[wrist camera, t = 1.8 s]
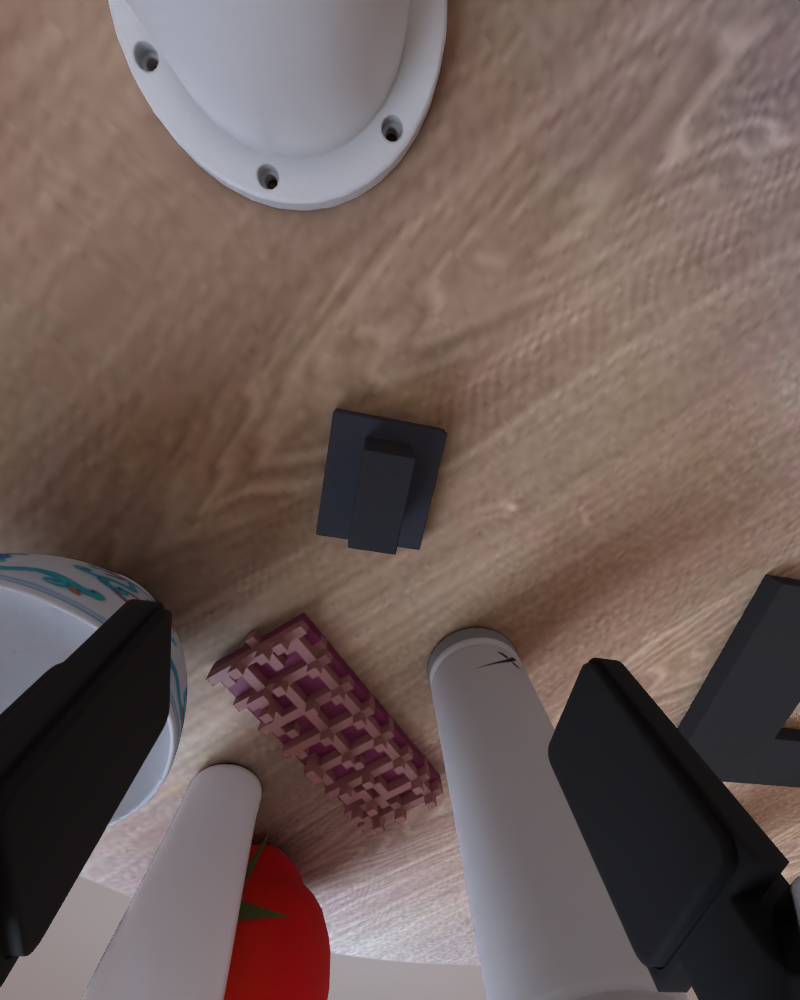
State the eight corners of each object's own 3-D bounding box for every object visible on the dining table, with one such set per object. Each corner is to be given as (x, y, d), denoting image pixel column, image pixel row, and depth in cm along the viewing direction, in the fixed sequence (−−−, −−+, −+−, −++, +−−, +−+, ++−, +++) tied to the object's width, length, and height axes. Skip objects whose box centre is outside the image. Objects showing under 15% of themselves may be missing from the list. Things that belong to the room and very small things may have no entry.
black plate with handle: (335, 407, 21) (327, 419, 17) (443, 428, 21) (460, 444, 18) (318, 526, 23) (307, 561, 19) (417, 541, 24) (426, 577, 20)
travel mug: (493, 607, 26) (822, 1272, 7) (527, 675, 28) (849, 1321, 9) (409, 646, 26) (503, 1356, 8) (449, 709, 29) (599, 1382, 10)
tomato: (361, 957, 33) (355, 835, 29) (258, 1309, 20) (226, 1166, 17) (211, 890, 37) (191, 777, 34) (50, 1142, 25) (-8, 1004, 21)
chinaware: (269, 674, 26) (230, 795, 19) (62, 733, 27) (-54, 873, 19) (160, 468, 21) (49, 525, 14) (-94, 546, 21) (-332, 641, 14)
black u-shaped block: (765, 574, 26) (783, 583, 25) (931, 600, 28) (954, 610, 27) (657, 762, 32) (668, 777, 31) (800, 774, 34) (815, 789, 33)
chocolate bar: (298, 605, 25) (292, 625, 23) (440, 776, 31) (444, 802, 29) (207, 657, 25) (194, 680, 24) (363, 813, 32) (362, 841, 30)
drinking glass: (292, 787, 30) (221, 1163, 16) (225, 826, 31) (104, 1211, 17) (230, 738, 28) (88, 1120, 14) (161, 780, 29) (-38, 1179, 15)
